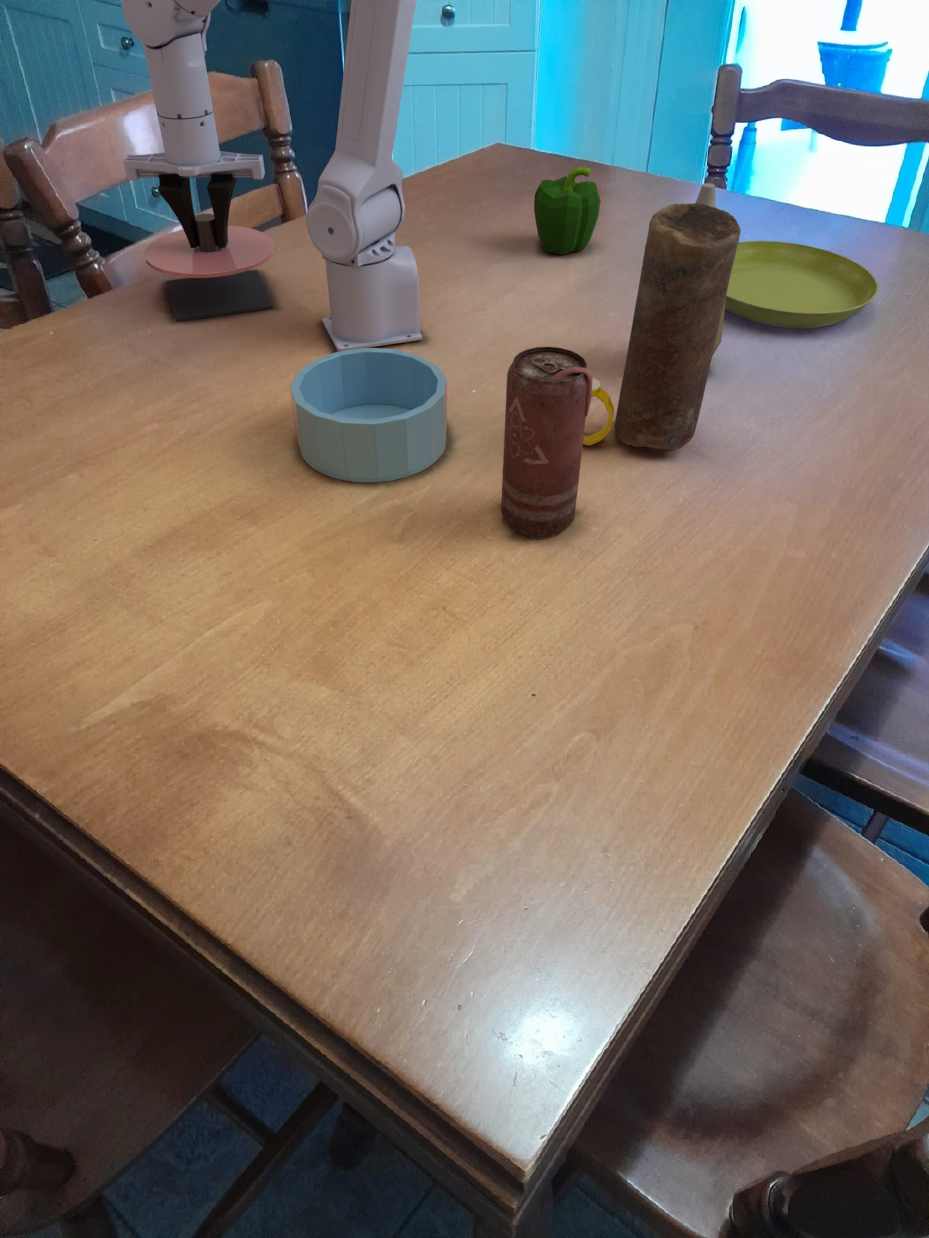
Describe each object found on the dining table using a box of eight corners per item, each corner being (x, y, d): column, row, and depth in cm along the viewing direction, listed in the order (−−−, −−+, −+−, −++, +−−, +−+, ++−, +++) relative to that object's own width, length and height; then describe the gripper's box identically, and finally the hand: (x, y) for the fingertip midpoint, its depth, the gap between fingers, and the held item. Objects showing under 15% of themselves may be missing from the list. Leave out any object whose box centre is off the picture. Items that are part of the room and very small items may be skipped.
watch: (542, 445, 83) (547, 386, 79) (546, 429, 85) (551, 371, 81) (607, 452, 82) (615, 393, 78) (610, 436, 84) (618, 378, 80)
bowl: (421, 395, 90) (419, 339, 86) (466, 466, 80) (466, 407, 76) (286, 417, 87) (278, 360, 83) (316, 494, 77) (309, 434, 73)
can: (573, 545, 72) (591, 386, 63) (495, 534, 73) (501, 377, 64) (581, 501, 77) (599, 347, 67) (507, 492, 78) (515, 339, 68)
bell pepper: (519, 251, 118) (523, 169, 111) (548, 232, 123) (554, 153, 116) (577, 265, 114) (585, 182, 108) (604, 245, 120) (614, 164, 113)
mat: (257, 272, 112) (256, 269, 112) (273, 308, 104) (272, 305, 104) (166, 284, 109) (165, 280, 109) (176, 321, 102) (175, 318, 101)
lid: (282, 234, 109) (277, 195, 106) (268, 283, 99) (262, 241, 96) (160, 235, 109) (152, 196, 106) (133, 284, 98) (123, 242, 95)
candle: (700, 427, 86) (747, 208, 72) (689, 467, 81) (736, 239, 67) (621, 413, 88) (653, 196, 74) (605, 451, 82) (635, 227, 69)
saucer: (674, 319, 103) (679, 292, 101) (708, 256, 117) (713, 230, 115) (863, 352, 97) (873, 324, 95) (876, 281, 111) (884, 255, 109)
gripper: (104, 122, 90) (137, 258, 100) (250, 122, 91) (269, 258, 100) (121, 104, 95) (150, 235, 105) (259, 104, 96) (276, 234, 105)
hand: (209, 245), depth 103 cm, fingers closed on lid, 2 cm apart
